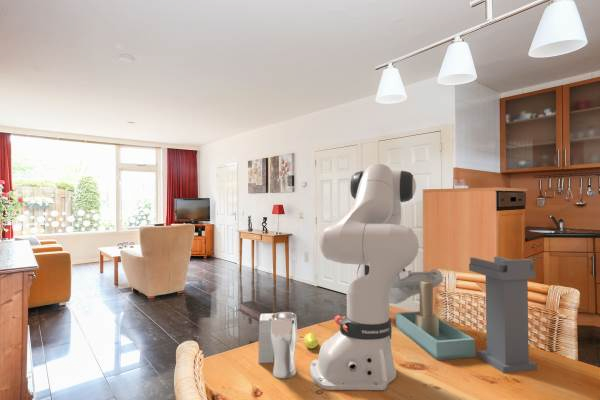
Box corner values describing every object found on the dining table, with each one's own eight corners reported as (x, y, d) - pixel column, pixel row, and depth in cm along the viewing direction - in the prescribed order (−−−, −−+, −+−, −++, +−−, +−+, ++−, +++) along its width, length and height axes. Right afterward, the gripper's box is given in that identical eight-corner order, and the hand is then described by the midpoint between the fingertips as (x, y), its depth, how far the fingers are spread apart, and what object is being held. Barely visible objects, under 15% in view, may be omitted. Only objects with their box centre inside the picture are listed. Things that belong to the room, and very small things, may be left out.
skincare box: (259, 354, 100) (259, 313, 100) (275, 353, 100) (274, 312, 100) (258, 364, 93) (257, 320, 94) (274, 363, 94) (273, 319, 94)
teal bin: (436, 360, 95) (436, 342, 95) (395, 326, 120) (395, 312, 120) (475, 356, 97) (474, 339, 97) (427, 324, 122) (426, 310, 122)
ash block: (415, 331, 113) (421, 336, 109) (415, 281, 112) (421, 284, 108) (431, 330, 114) (438, 335, 110) (432, 280, 113) (438, 283, 109)
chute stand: (503, 372, 87) (501, 261, 88) (470, 351, 100) (468, 253, 100) (537, 369, 89) (535, 259, 89) (500, 348, 102) (498, 252, 102)
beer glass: (282, 364, 93) (281, 309, 93) (302, 371, 89) (302, 314, 89) (265, 374, 88) (265, 316, 88) (286, 382, 84) (286, 322, 84)
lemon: (316, 341, 109) (316, 329, 109) (318, 352, 101) (318, 339, 101) (303, 341, 109) (303, 329, 109) (304, 352, 101) (304, 339, 101)
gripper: (378, 277, 125) (391, 264, 113) (429, 274, 128) (447, 262, 117) (381, 294, 122) (395, 282, 110) (433, 291, 125) (453, 280, 113)
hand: (422, 272), depth 113 cm, fingers open, 8 cm apart
